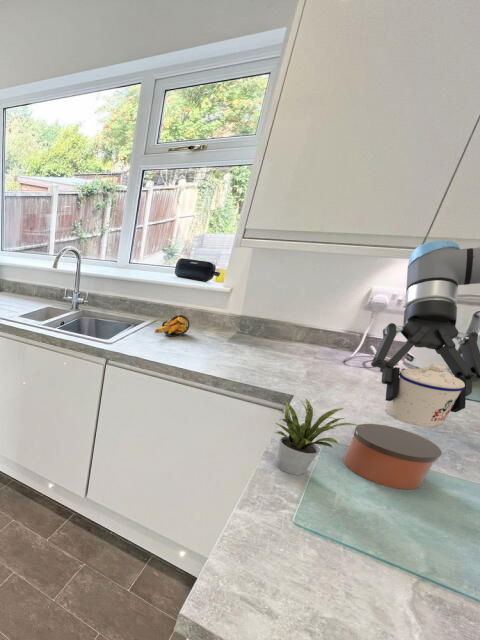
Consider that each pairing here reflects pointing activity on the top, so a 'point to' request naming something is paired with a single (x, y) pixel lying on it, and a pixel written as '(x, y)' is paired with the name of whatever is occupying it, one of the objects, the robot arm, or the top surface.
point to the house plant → (302, 439)
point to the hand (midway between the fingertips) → (423, 403)
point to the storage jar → (390, 456)
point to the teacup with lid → (425, 396)
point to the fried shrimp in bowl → (175, 326)
